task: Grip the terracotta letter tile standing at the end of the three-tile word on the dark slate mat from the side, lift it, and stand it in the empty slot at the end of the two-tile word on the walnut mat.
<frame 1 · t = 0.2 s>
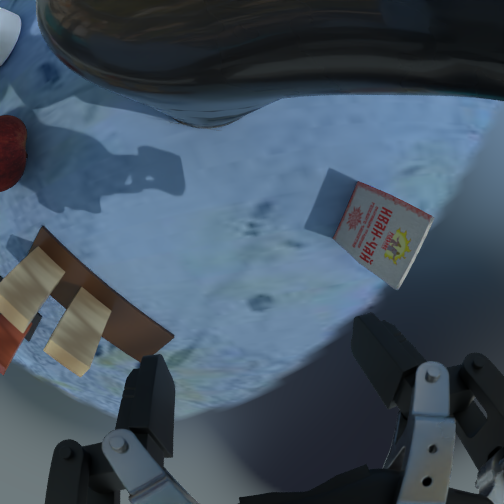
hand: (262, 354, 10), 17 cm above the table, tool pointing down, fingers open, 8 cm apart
beverage can: (0, 45, 12), on the table
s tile: (19, 317, 26), resting on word
apple: (19, 148, 19), on the table
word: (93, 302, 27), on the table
white tea box: (357, 215, 28), on the table
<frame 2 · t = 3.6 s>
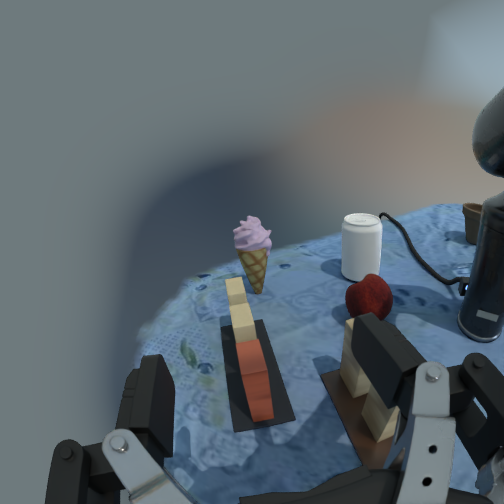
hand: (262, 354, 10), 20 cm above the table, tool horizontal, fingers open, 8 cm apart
beverage can: (360, 274, 54), on the table
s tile: (260, 405, 28), resting on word
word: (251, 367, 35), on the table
apple: (367, 321, 40), on the table
flower pot: (475, 241, 58), on the table
ice cream cone: (260, 293, 53), on the table
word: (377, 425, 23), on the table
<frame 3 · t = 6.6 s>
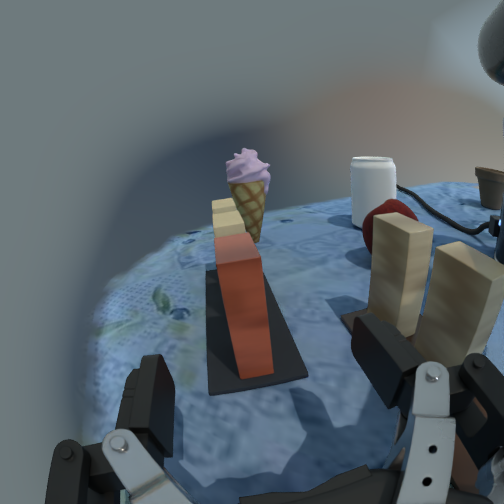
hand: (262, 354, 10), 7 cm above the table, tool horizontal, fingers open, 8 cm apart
beverage can: (373, 226, 45), on the table
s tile: (252, 356, 20), resting on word
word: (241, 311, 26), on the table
apple: (391, 263, 32), on the table
flower pot: (491, 207, 50), on the table
ice cream cone: (257, 242, 44), on the table
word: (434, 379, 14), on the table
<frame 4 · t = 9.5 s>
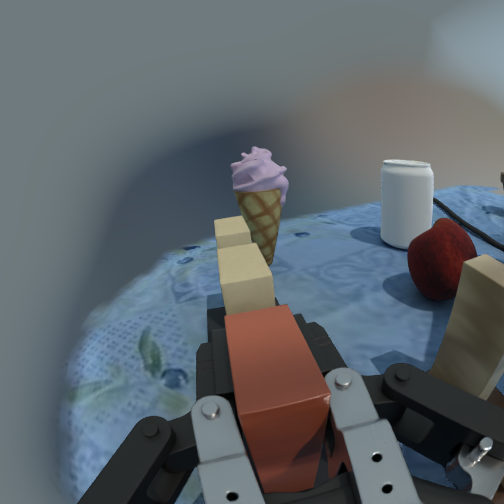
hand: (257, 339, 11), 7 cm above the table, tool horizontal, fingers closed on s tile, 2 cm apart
beverage can: (404, 242, 37), on the table
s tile: (281, 460, 11), resting on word, touching gripper
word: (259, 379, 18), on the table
apple: (437, 296, 23), on the table
ice cream cone: (269, 264, 36), on the table
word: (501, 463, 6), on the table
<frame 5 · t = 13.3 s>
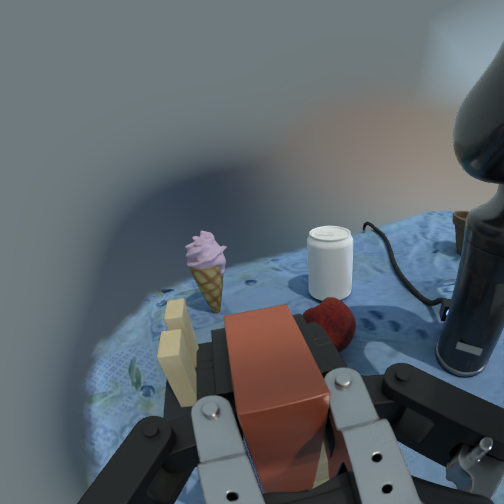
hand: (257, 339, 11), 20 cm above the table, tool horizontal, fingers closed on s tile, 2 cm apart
beverage can: (329, 293, 50), on the table
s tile: (280, 460, 11), point 13 cm above the table, touching gripper
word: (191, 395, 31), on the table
apple: (328, 348, 36), on the table
flower pot: (467, 253, 55), on the table
ice cream cone: (218, 312, 49), on the table
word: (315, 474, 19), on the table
when the fingers open (7 cm above the table, at t = 17.6 s): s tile stays where it is, resting on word.
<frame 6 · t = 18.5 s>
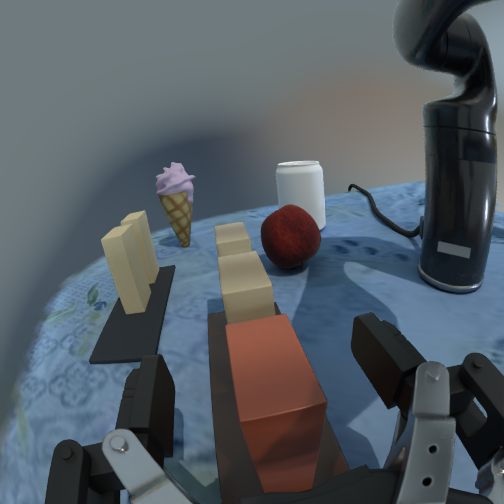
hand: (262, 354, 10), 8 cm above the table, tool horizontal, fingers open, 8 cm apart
beverage can: (303, 229, 49), on the table
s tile: (280, 462, 12), resting on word
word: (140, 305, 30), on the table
apple: (293, 267, 36), on the table
ice cream cone: (187, 246, 48), on the table
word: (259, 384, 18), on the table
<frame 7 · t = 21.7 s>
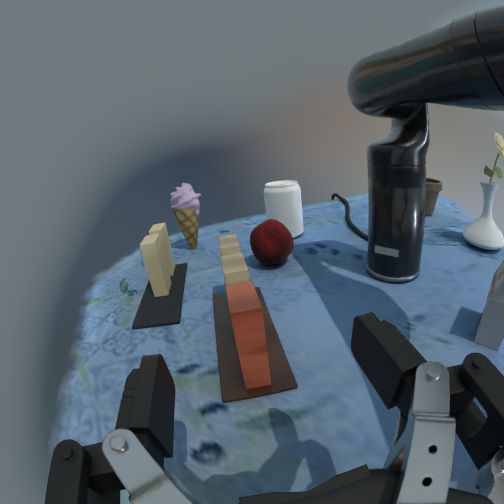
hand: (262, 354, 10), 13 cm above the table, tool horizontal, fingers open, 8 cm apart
flower in vase: (485, 245, 43), on the table
beverage can: (286, 235, 63), on the table
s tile: (254, 371, 25), resting on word
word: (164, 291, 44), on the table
apple: (274, 264, 49), on the table
flower pot: (422, 213, 68), on the table
ice cream cone: (195, 248, 62), on the table
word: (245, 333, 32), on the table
white tea box: (489, 331, 22), on the table
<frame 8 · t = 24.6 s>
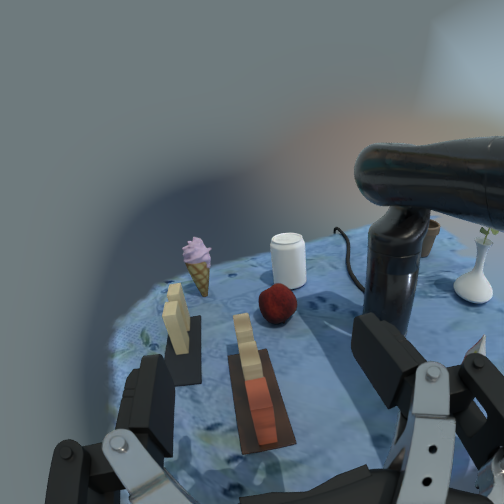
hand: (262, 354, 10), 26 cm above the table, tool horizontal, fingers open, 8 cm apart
flower in vase: (473, 295, 48), on the table
beverage can: (290, 283, 68), on the table
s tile: (265, 430, 30), resting on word
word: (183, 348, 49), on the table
apple: (279, 320, 54), on the table
flower pot: (419, 253, 72), on the table
ice cream cone: (206, 296, 67), on the table
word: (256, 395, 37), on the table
white tea box: (456, 396, 27), on the table
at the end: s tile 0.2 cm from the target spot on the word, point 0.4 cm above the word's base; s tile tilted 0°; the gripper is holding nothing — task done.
